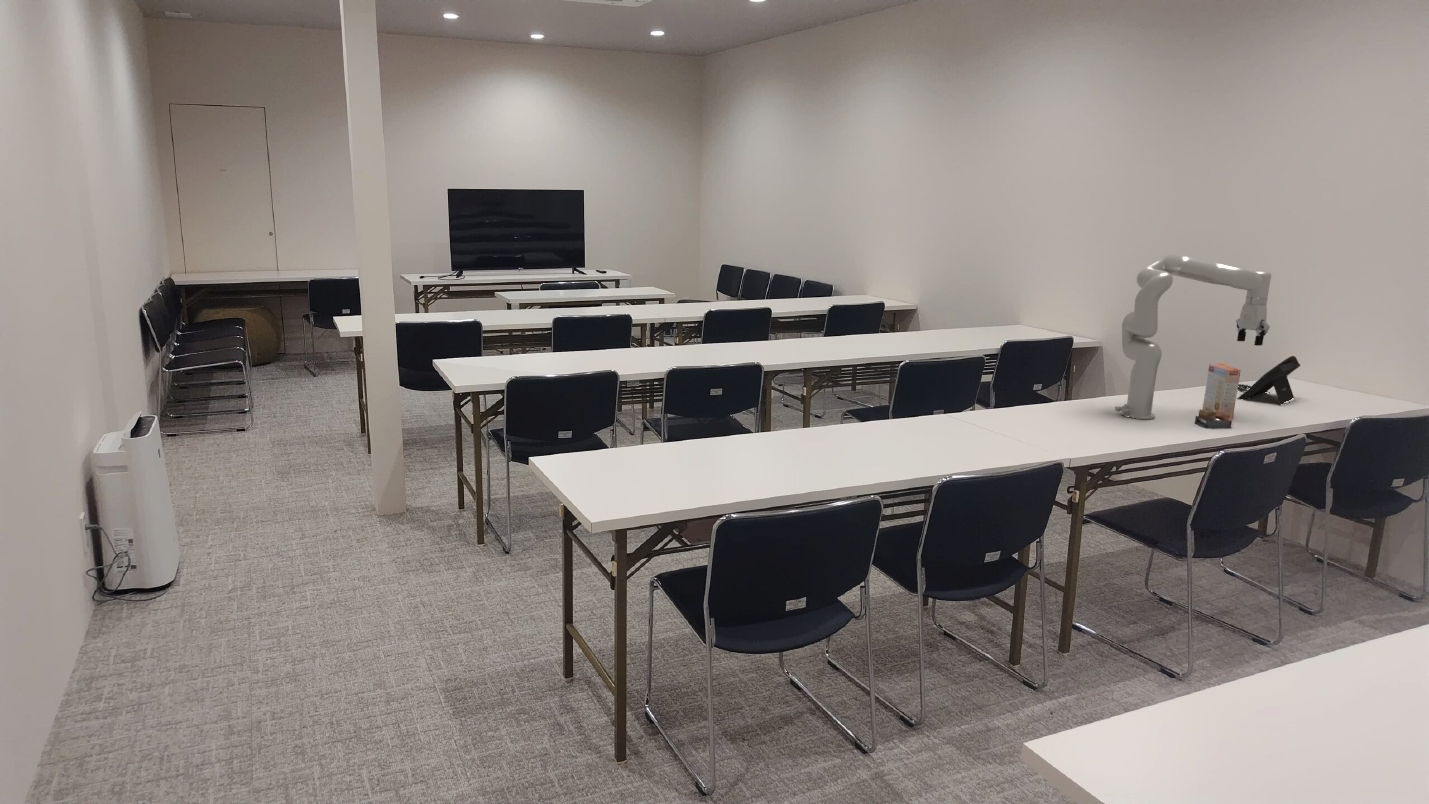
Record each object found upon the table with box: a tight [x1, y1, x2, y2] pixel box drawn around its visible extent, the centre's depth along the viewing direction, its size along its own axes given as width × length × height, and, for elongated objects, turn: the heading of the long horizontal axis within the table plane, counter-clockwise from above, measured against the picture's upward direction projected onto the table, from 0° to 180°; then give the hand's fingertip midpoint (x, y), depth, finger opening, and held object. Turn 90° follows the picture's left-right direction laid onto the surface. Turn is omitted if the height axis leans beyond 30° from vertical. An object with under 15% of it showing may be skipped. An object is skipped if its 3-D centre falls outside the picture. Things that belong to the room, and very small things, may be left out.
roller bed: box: [1194, 411, 1234, 429], centre depth 356 cm, size 10×8×5 cm
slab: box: [1197, 409, 1216, 420], centre depth 355 cm, size 4×5×3 cm
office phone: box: [1236, 355, 1301, 405], centre depth 407 cm, size 29×28×20 cm
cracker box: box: [1201, 362, 1242, 420], centre depth 371 cm, size 14×6×21 cm, turn 179°
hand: (1249, 343), depth 366 cm, fingers open, 9 cm apart
